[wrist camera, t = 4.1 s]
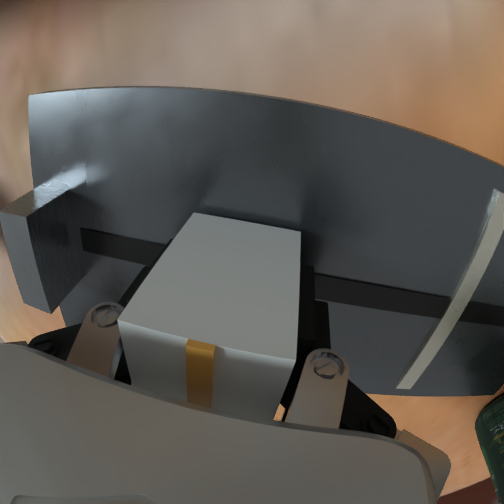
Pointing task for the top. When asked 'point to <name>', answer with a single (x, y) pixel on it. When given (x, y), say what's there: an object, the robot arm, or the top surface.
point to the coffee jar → (493, 442)
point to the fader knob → (218, 317)
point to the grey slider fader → (275, 219)
